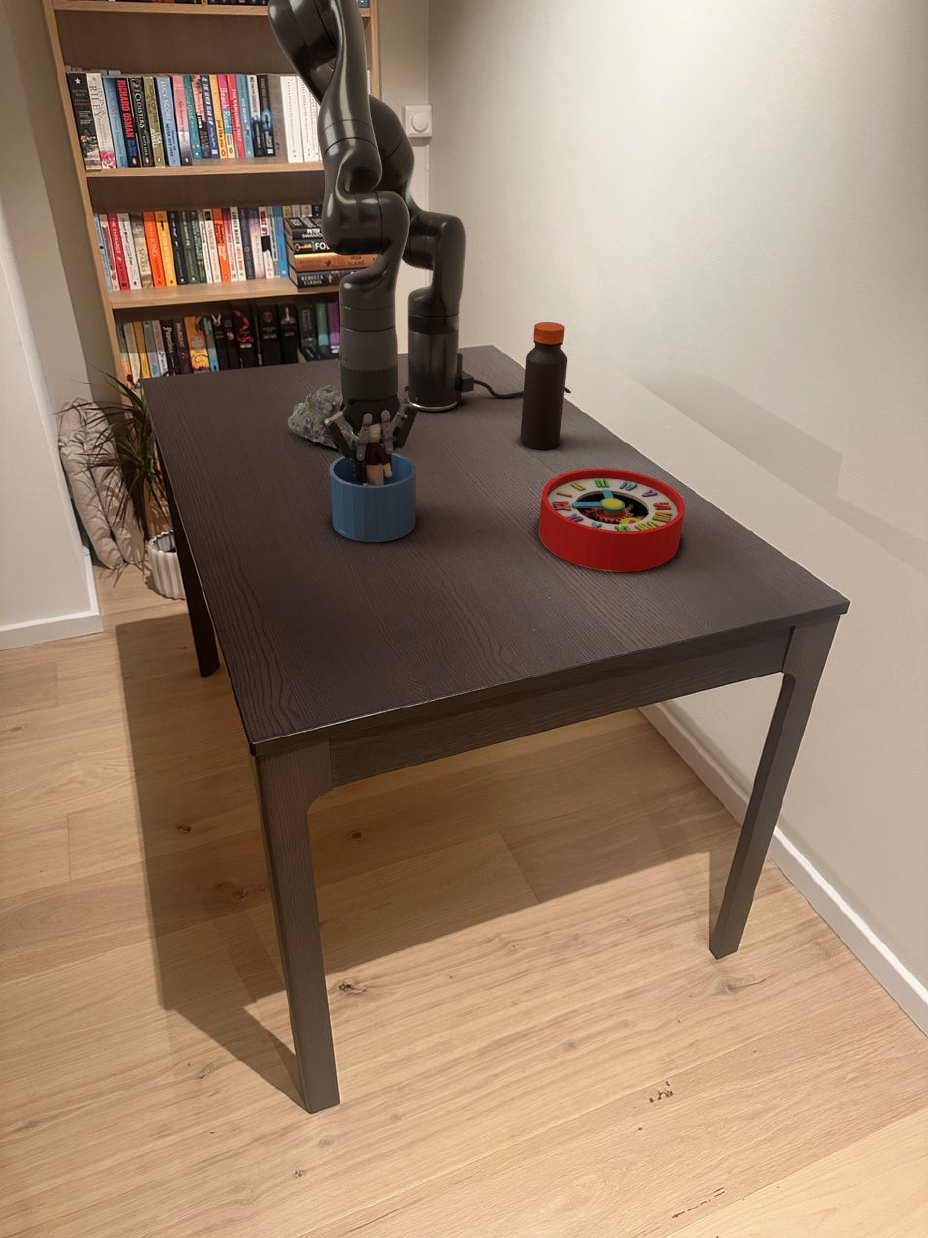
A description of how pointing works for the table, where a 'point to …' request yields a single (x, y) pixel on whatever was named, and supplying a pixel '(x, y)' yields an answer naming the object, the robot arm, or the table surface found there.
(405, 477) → the bowl
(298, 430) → the mineral rock
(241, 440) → the table surface
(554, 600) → the table surface
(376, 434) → the grandmother figurine
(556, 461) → the table surface
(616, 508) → the toy clock
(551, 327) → the bottle
